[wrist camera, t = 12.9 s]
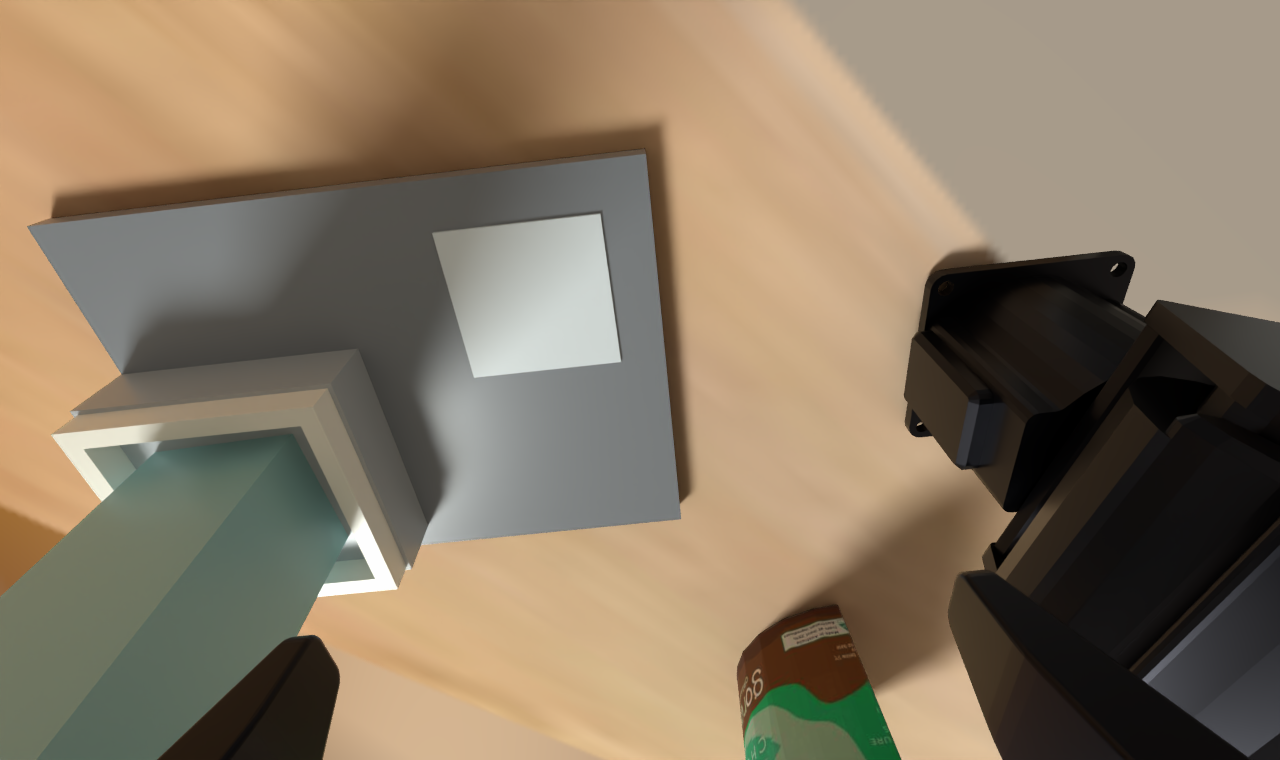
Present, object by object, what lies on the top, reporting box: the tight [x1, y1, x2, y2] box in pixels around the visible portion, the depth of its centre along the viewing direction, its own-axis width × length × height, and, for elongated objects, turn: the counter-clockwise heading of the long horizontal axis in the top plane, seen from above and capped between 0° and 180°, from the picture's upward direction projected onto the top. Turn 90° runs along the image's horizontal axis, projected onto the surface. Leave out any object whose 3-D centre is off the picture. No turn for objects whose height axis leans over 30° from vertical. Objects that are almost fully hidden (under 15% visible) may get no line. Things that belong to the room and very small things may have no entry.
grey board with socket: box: [27, 149, 681, 597], centre depth 20 cm, size 18×14×4 cm
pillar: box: [0, 434, 349, 760], centre depth 14 cm, size 4×4×14 cm
